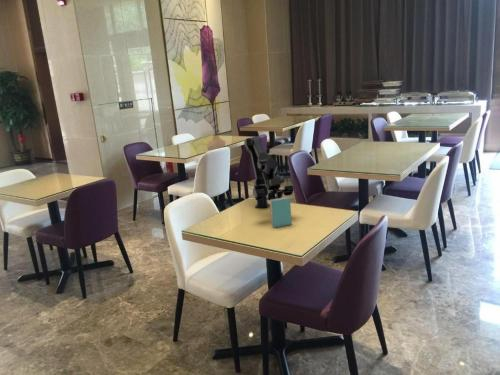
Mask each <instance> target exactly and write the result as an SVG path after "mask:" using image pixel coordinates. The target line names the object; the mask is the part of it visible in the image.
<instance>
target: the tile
mask: <svg viewBox="0 0 500 375" xmlns="http://www.w3.org/2000/svg"><path fill="white" fill-rule="evenodd" d="M269 204H270V213H271V215H270V216H271V217H270V218H271V227H272V228H274V229H275V228H280V227H284V226H285V227H286V226H291V225H292V207H291V197H289V196H288V197H287V196H286V197H281V198H278V199H272V200H269ZM292 226H293V225H292Z"/></svg>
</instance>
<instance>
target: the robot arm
mask: <svg viewBox="0 0 500 375" xmlns="http://www.w3.org/2000/svg"><path fill="white" fill-rule="evenodd" d="M243 143H244V147H245V149H246V152H248V154H249V155H250V158H251V163H252V167H253V172H254V178H255V180H254V183H253V188H252V195H253V197H254V200H255V201H256V205H255V206H254V208H258V209H260V208H261V209H267V208H268V207H269V206H271V204H270V202H269V203H268V201H270V200H272V199H278V198H283V195H284V196H286V197H287V196H288V197H289V196H291V195H293V193H294V191H295V187H294V185H292V184H287V185H284V187H283V188H281V187H282V186H281V185H282V184H284V183H285V178H284V175H279V176H278V177H276V175H275V174H276V173H277V170H278V166H279V162H278V161H277V160H276V158H275V159H274V158H273V157H272V156H271V155H270V154H268V153H267V152H266V150H265V148H264V145H263V143H262V138H261V137H260V136H256V137H247V138H246V139H245V140H244V142H243Z"/></svg>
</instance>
